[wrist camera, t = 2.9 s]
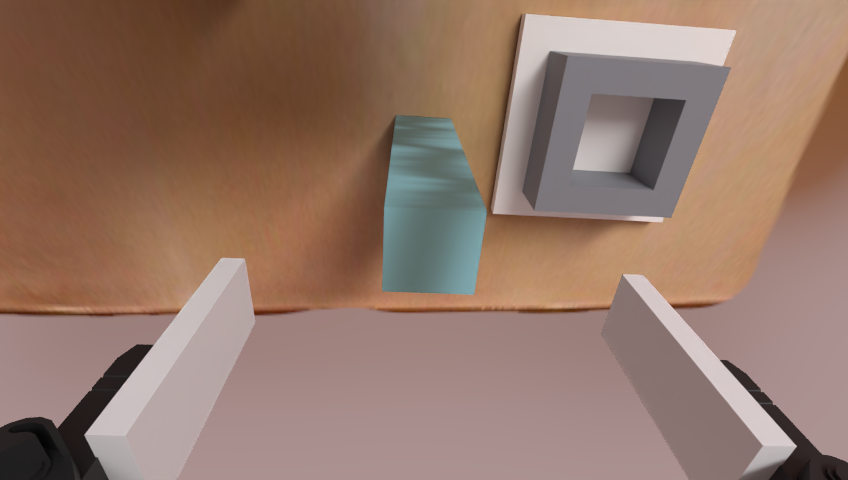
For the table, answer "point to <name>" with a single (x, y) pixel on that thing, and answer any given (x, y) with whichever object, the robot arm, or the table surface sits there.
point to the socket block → (606, 116)
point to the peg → (430, 211)
